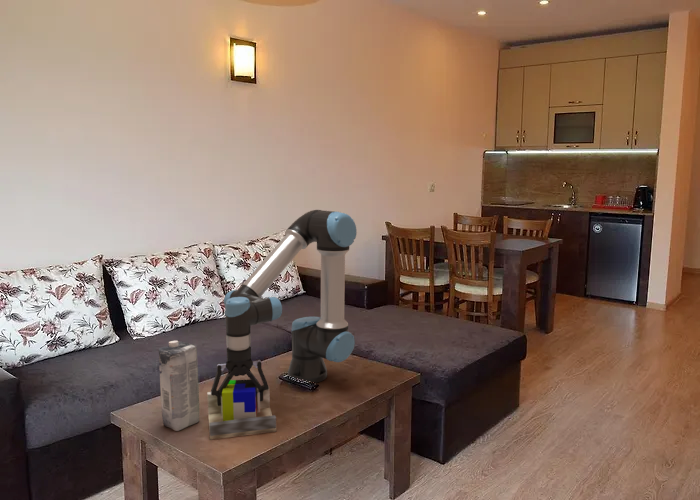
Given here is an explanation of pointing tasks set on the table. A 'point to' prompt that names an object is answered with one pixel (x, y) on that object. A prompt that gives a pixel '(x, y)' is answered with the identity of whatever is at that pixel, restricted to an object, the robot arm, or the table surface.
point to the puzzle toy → (239, 400)
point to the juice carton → (179, 385)
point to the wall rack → (240, 420)
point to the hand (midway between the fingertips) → (240, 412)
